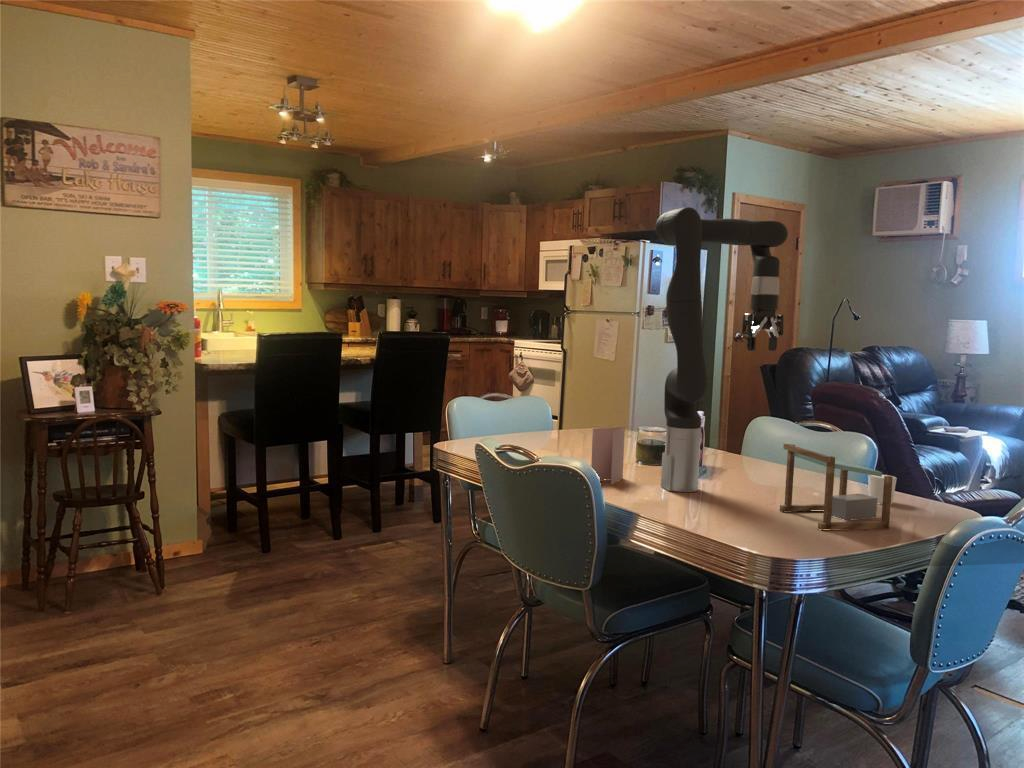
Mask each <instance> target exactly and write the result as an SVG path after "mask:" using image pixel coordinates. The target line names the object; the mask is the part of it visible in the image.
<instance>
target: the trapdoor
mask: <svg viewBox="0 0 1024 768" xmlns="http://www.w3.org/2000/svg"><path fill="white" fill-rule="evenodd" d="M794 456H795V458H798V459H802V460H805V461H809V462H811V463H814V464H817V465H819V466H823V467H826V468H827V462H823V461H820V460H817V459H813V458H810V457H807V456H804V455H801V454H798V453H795V452H794ZM835 469H837V470H840V471H841V470H847V471H848V472H853V473H858V474H859V473H860V474H865V475H875V476H880V477H882V474H883V472H882V471H879V470H876V469H873V468H870V467H869V468H868V467H866V466H862V465H859V464H856V463H852V462H849V461H846V460H841V459H836V458H835Z"/></svg>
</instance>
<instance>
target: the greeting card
mask: <svg viewBox="0 0 1024 768" xmlns="http://www.w3.org/2000/svg"><path fill="white" fill-rule="evenodd" d="M625 428H626V427H625V426H619V427H618V426H616V427H602V428H601V427H600V428H592V437H591V438H592V440H591V441H592V442H591V465H590V468H591V467H592V468H593V469H594V470H595V471H596V473H597V474H598V476H599V477H600V480H601V481H602V482H603V481H605V480H604V479H611V480H610V486H612V484H613V485H615V484H616V483H618V482H619V481H621V480H622V479H621V478H624V458H625V457H624V455H625V436H626V435H625V433H626V430H625ZM620 479H621V480H620ZM618 480H619V481H618ZM617 481H618V482H617ZM615 482H616V483H615Z"/></svg>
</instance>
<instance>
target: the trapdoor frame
mask: <svg viewBox="0 0 1024 768" xmlns="http://www.w3.org/2000/svg"><path fill="white" fill-rule="evenodd" d="M783 450H786V451H787V458H786V473H785V491H784V492H785V493H784V504H779V512H781V511H782V512H781V513H784V512H783V511H811V510H824V511H823V516H822V517H823V518H822V521H821V522H817V529H818V528H819V529H855V530H854V531H862V530H863V529H868V530H889V529H890V520H891V519H890V517H891V508H892V506H891V505H892V504H891V493H892V479H893V477H891V476H892V475H890V476H884V489H883V503H882V505H881V507H882V508H881V516H880V517H881V520H879V521H878V520H876V521H875V520H874V521H870V520H869V521H835V522H834V521H833V522H832V517H831V516H832V501H833V496H834V483H835V469H836V468H835V459H836V456H830V455H829V456H828V455H826V454H822V453H819V452H815V451H813V450H809V449H806V448H803V447H800V446H796V444H794V443H793V444H792V443H791V444H789V443H783ZM794 452H795V453H798V454H801V455H804V456H807V457H810V458H813V459H817V460H820V461H823V462H827V467H826V471H825V487H824V499H823V500H824V501H823V503H821V504H820V503H819V504H817V503H816V504H812V503H811V504H793V490H794V489H793V487H794V476H795V475H794V474H795V472H794V471H795V469H794V468H795V458H796V456H794ZM839 473H840V475H839V489H838V490H839V491H838V495H847V490H848V477H849V474H848V473H849V471H847V470H841V469H840V472H839ZM819 529H818V530H819ZM861 529H862V530H861Z"/></svg>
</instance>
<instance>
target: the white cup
mask: <svg viewBox="0 0 1024 768" xmlns="http://www.w3.org/2000/svg"><path fill="white" fill-rule="evenodd" d="M884 476H891V477H893V479H892V493H891V505H893V502H894V495H895V490H896V485H897V479H898V478H897V477H896V476H893V475H889V474H883V473H882V477H880V476H875V475H869V474H867V484H868V485H867V487H868V489H867V490H868V492H867V493H868V496H872V497H876V498H878V499H877V503H880V504H882V503H883V489H884ZM880 504H879V505H880Z"/></svg>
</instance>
